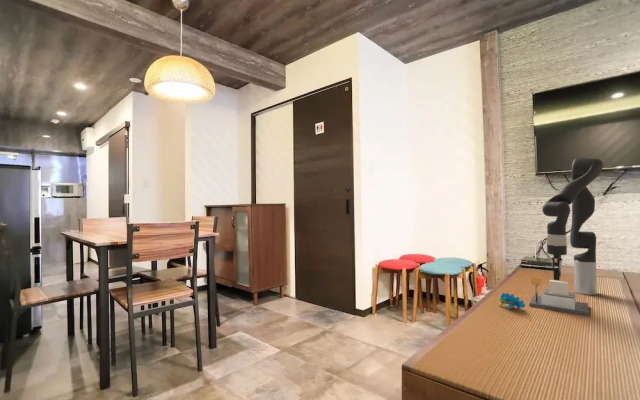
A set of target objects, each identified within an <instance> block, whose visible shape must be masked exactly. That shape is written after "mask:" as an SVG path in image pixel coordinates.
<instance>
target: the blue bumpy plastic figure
mask: <svg viewBox="0 0 640 400" xmlns="http://www.w3.org/2000/svg"><path fill="white" fill-rule="evenodd" d="M498 299H499V301H500V304H499V307H500V308H502V306H503V304H505V305H508V306H507V308H506V309H507V310H508V311H509V310H510V311H511V308H512V307H516V308H517V309H520V308H521V309H524V307H525V306H526V304H525V302H524V300H522V299H521V300H520V297H518V296H515V294H513V293H508V292H505V293H504V292H502V293H501V294H500V297H499V298H498Z"/></svg>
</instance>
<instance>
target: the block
mask: <svg viewBox="0 0 640 400" xmlns="http://www.w3.org/2000/svg"><path fill="white" fill-rule="evenodd" d="M548 283H549V285H548V286H549V288H548V289H549V293H553V294H560V295H567V296H568V291H569V282H568V281H561V280H554V279H553V280H552V279H549V281H548Z"/></svg>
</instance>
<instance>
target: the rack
mask: <svg viewBox="0 0 640 400" xmlns="http://www.w3.org/2000/svg"><path fill="white" fill-rule="evenodd" d="M530 279H531V280H530V284H531V285H534V295H532V298H531V300H530V301H529V303H528V304H529V307H531V308H538V309H545V310H550V311H556V312H563V313H568V314H573V315H580V316H584V317H585V316H587V317H589V315H590V314H589V313H590V311H589V310H590V309H589V302H588V303H587V302H582V301H576V292H575V291H570V290H568V296H567V295H560V294H553V293H549V288H546V287H544V288H543V291H542V292H541V295H539V292H538V286H542V277H538V276H531V277H530Z"/></svg>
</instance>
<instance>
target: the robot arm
mask: <svg viewBox="0 0 640 400" xmlns="http://www.w3.org/2000/svg"><path fill="white" fill-rule="evenodd" d="M603 164H604V163H603V161H602V160H601V159H599V158H589V157H588V158H587V157H577V158H575V159H574V160H573V162H572V164H571V181H569V182H566V184H565V185H563V186H562V187H561V188H560V189H559V191H558V192H557V193H556V194H555V195H554V196H552V197H551V198H550V199H548V200H547V201H545V203H544V204H543V206H542V212H543V215H545V216H546V217H549V218H550V217H552V218H553V217H554V218H556V219H555V220H554V221H549V222H547V226H546V227H547V228H546V229H547V230H546V231H547V233H546V234H547V235H546V253H547V254H548V255H553V257H551V259H550V260H551V268H552V272H553V280H554V281H561V280H560V278H561V274H562V273H561V272H562V271H561V270H562V267H563V258H562V256H566V255H568V249H567V248H568V247H567V246H568V245H567V241H568V240H567V234H566V233H567V232H566V230H567V228H566V227H567V224H568V220H569V216H570V213H571V227H570V233H569V234H570V236H569V242H570V246H571V247H572V248H575V249H587V250H586V251H585V252H582V253H576V254H574V256H573V272H574V276H573V277H574V280H573V281H574V284H573V285H574V292H575V293H577V294H583V295H589V296H596V295H597V293H598V292H597V290H598V289H597V286H598V285H597V283H598V282H597V235H596V234H595V233H594V232H593V231H580V229H581V228H582V226H583V225H584V224H585V223H586V221H588V220H589V219H590V217H592V216H593V214H594V212H595V210H596V209H595V208H596V206H595V205H596V199H595V197H594V194H592V192H591V191H590V189H589V188H588V187H587V186H588V185H589V184H591V183H592V182H593V181H594V180H595V179H596V178H598V177H599V176H600V174H601V173H602V170H603V168H604V167H603ZM570 205H571V207H570Z"/></svg>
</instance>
